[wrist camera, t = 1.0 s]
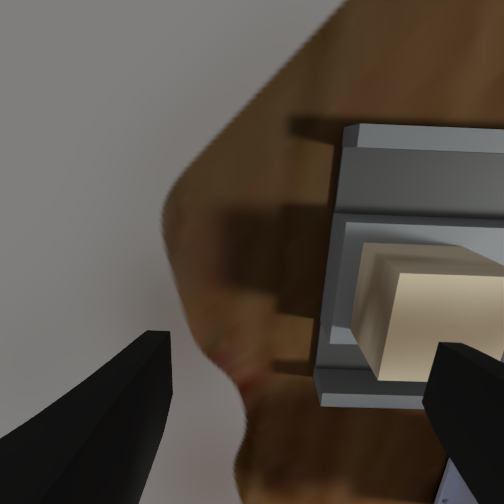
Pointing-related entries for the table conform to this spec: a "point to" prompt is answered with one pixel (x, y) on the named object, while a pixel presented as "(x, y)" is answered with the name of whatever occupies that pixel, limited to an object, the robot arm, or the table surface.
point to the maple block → (425, 306)
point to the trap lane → (401, 233)
